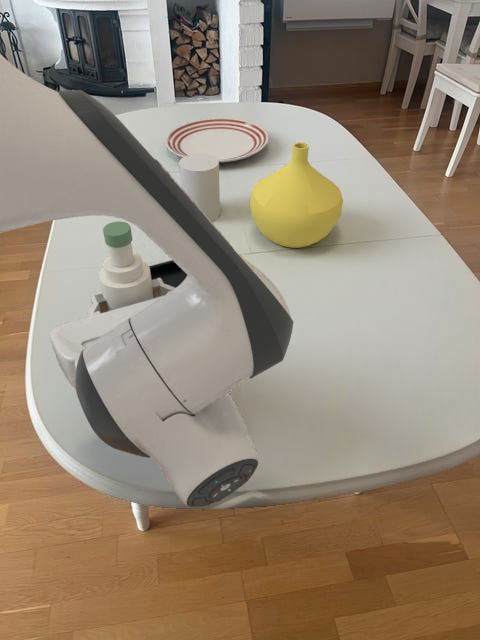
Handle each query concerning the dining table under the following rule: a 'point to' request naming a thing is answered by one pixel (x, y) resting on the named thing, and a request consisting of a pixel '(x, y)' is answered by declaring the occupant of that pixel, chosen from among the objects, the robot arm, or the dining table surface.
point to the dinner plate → (218, 138)
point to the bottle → (123, 270)
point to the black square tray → (168, 273)
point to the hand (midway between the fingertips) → (126, 291)
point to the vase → (296, 203)
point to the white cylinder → (202, 182)
